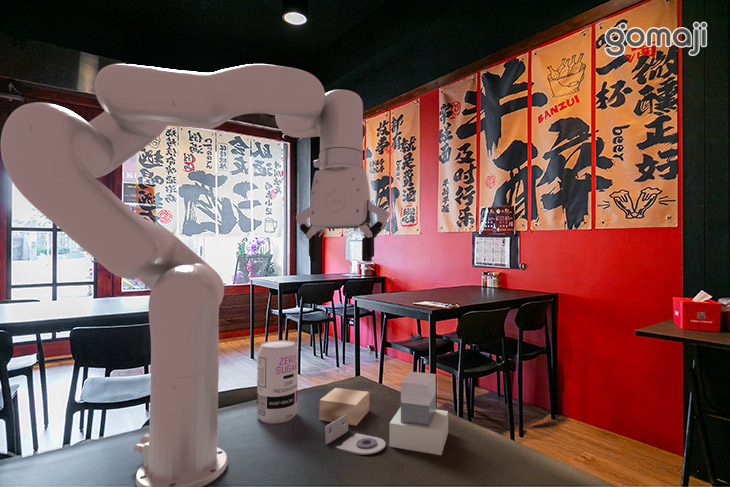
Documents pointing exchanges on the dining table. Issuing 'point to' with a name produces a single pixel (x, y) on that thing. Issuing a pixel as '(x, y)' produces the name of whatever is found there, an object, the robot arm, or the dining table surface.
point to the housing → (418, 398)
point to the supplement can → (277, 381)
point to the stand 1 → (344, 405)
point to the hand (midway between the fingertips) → (340, 261)
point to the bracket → (353, 439)
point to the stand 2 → (419, 434)
